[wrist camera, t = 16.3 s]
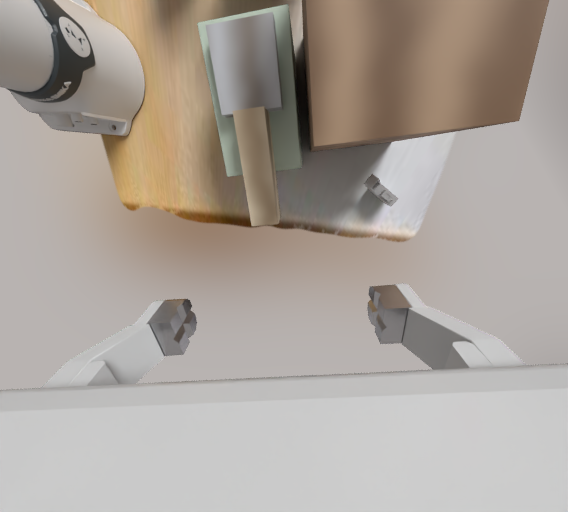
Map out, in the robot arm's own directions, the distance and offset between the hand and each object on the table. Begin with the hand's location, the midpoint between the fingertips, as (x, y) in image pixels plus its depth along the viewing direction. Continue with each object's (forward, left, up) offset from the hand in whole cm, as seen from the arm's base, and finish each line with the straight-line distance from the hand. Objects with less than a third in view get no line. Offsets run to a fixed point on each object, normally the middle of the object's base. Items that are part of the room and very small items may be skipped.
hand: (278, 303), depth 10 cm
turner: (-4, +9, -23) cm, 25 cm away
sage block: (-4, +13, -37) cm, 39 cm away
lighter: (+13, -1, -37) cm, 39 cm away
